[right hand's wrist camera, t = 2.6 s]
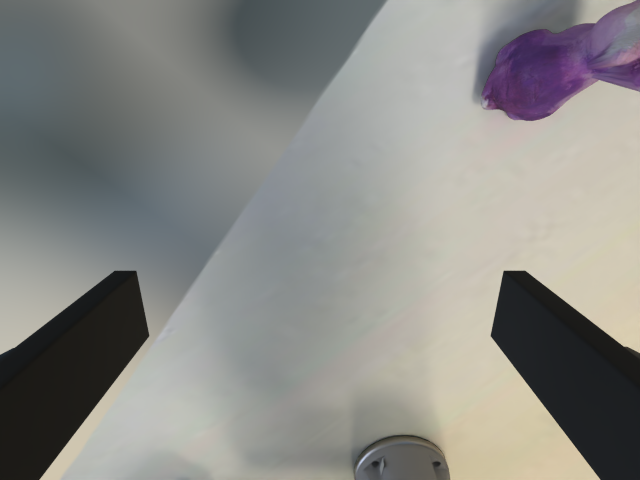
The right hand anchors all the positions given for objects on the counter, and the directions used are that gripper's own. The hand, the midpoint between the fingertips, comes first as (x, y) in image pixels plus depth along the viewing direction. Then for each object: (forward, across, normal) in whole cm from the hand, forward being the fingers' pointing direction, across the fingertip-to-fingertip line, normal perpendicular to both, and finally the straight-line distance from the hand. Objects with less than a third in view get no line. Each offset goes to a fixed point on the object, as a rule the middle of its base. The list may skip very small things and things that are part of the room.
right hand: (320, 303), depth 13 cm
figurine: (+30, -22, -11) cm, 39 cm away
